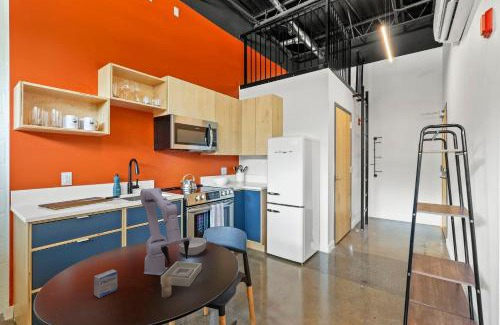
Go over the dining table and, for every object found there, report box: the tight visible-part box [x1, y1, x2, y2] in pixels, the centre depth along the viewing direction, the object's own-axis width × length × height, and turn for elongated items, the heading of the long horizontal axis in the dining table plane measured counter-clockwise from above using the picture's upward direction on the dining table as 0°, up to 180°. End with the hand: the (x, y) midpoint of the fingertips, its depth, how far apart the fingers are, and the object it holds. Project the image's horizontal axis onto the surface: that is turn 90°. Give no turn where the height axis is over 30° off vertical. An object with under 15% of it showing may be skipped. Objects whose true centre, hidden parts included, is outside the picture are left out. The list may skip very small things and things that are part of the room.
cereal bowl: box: [178, 237, 207, 257], centre depth 151 cm, size 17×17×7 cm
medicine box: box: [93, 269, 118, 299], centre depth 107 cm, size 8×4×9 cm, turn 148°
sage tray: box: [160, 261, 202, 288], centre depth 122 cm, size 14×17×4 cm
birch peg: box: [161, 275, 172, 299], centre depth 105 cm, size 4×4×8 cm
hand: (178, 261), depth 109 cm, fingers open, 7 cm apart
